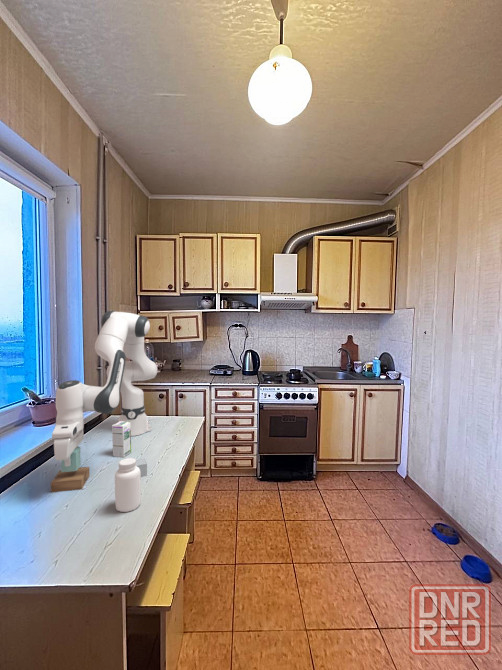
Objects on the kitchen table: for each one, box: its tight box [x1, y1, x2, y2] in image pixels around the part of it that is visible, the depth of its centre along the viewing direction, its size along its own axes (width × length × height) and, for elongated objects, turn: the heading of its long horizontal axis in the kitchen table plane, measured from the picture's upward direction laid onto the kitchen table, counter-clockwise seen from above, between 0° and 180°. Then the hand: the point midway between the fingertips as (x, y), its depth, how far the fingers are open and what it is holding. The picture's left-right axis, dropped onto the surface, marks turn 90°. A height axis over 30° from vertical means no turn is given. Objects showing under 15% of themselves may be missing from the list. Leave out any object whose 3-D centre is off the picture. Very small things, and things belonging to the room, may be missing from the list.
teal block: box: [60, 446, 82, 472], centre depth 116 cm, size 5×5×7 cm
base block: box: [50, 466, 90, 494], centre depth 116 cm, size 10×10×4 cm
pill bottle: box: [114, 457, 142, 513], centre depth 103 cm, size 8×8×15 cm
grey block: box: [136, 458, 148, 478], centre depth 124 cm, size 5×5×5 cm
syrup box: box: [111, 421, 132, 458], centre depth 142 cm, size 6×6×14 cm
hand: (71, 461), depth 116 cm, fingers closed on teal block, 5 cm apart
